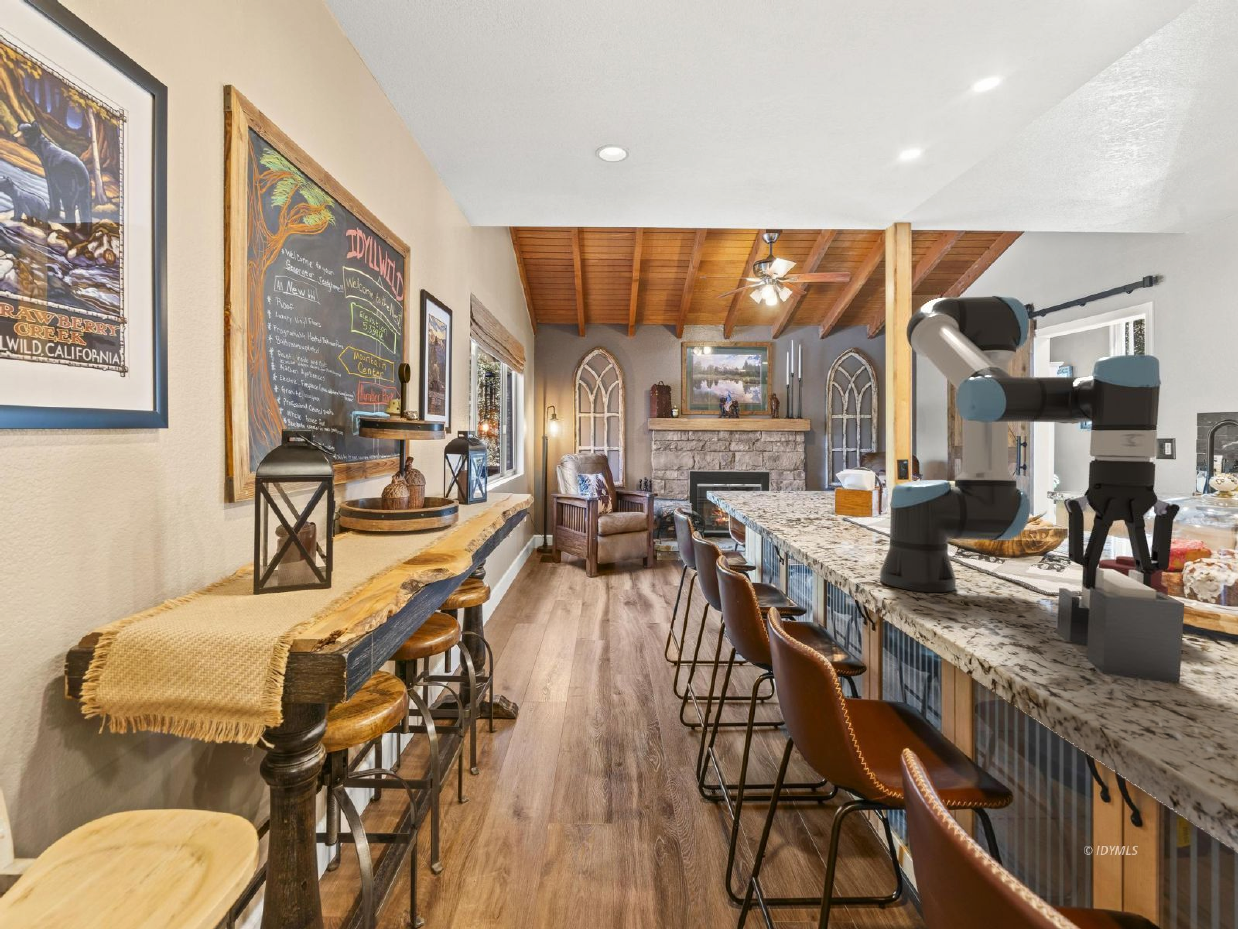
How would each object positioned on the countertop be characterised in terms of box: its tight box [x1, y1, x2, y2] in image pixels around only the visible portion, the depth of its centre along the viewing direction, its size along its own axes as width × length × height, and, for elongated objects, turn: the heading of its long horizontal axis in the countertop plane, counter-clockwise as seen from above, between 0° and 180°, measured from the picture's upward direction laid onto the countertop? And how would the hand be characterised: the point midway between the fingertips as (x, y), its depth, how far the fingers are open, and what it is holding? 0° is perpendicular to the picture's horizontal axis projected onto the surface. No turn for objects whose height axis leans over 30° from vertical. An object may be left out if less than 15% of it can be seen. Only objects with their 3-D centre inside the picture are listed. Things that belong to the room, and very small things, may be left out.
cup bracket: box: [1086, 586, 1185, 684], centre depth 82 cm, size 6×8×11 cm
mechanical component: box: [1097, 555, 1169, 596], centre depth 101 cm, size 12×10×10 cm
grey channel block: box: [1056, 587, 1089, 646], centre depth 95 cm, size 6×8×8 cm
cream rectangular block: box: [1080, 568, 1156, 608], centre depth 88 cm, size 14×4×6 cm, turn 158°
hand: (1114, 612), depth 88 cm, fingers open, 4 cm apart
